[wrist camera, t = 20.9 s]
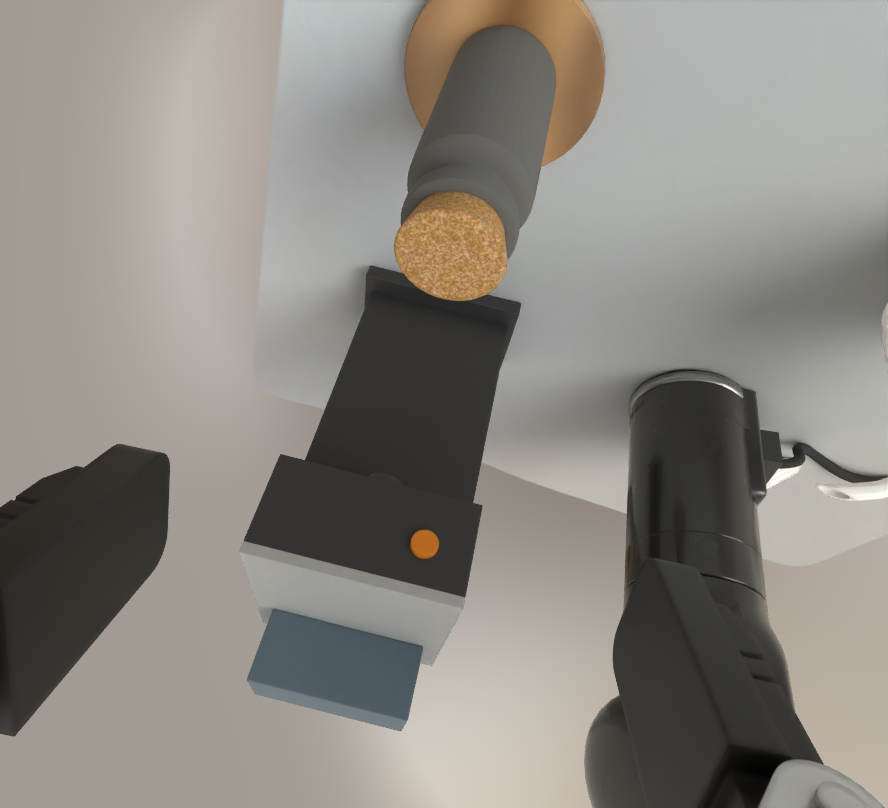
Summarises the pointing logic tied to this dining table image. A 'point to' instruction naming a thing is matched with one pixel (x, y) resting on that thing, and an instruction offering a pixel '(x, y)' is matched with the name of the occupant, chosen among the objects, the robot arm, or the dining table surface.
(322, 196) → the dining table surface
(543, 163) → the disc
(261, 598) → the coffee maker
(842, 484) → the coffeepot
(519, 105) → the bottle
